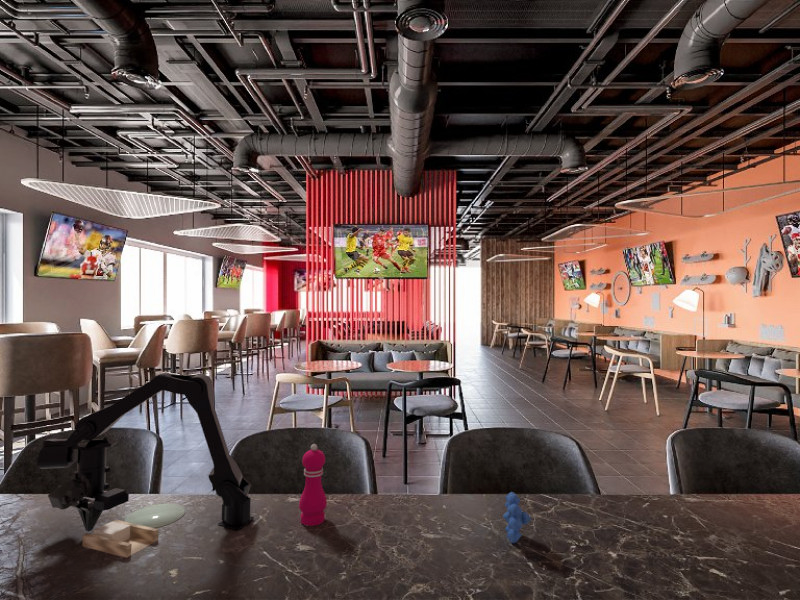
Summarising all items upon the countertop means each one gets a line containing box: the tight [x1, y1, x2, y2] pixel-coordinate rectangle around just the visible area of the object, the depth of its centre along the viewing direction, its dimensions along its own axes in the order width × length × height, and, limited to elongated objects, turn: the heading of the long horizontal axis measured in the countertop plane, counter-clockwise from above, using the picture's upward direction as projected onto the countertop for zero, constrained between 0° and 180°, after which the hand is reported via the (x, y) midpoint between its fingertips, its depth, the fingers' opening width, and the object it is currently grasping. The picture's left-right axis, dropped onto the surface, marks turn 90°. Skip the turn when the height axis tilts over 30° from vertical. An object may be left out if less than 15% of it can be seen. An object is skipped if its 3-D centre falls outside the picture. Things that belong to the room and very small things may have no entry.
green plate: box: [124, 503, 186, 529], centre depth 114 cm, size 14×14×1 cm
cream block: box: [92, 521, 130, 542], centre depth 101 cm, size 6×4×3 cm
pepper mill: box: [298, 443, 328, 527], centre depth 113 cm, size 7×7×20 cm
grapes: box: [502, 491, 532, 544], centre depth 103 cm, size 12×7×12 cm, turn 171°
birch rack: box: [81, 519, 159, 558], centre depth 100 cm, size 14×8×3 cm, turn 71°
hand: (89, 530), depth 104 cm, fingers closed
